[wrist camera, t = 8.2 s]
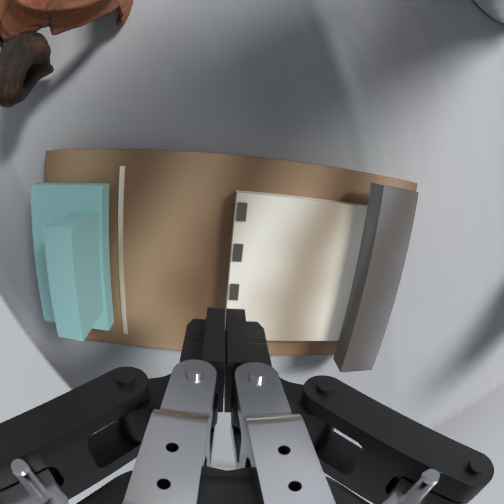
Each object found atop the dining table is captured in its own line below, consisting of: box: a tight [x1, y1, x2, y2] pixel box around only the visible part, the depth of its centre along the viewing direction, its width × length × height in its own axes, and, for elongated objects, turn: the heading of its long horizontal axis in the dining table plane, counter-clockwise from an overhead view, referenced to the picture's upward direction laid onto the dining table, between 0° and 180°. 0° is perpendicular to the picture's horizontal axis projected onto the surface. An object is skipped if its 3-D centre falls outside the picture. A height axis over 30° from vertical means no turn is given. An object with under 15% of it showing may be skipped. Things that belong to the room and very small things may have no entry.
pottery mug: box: [0, 0, 133, 107], centre depth 12 cm, size 12×10×8 cm
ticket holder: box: [45, 149, 418, 372], centre depth 18 cm, size 24×13×4 cm, turn 84°
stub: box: [31, 183, 114, 341], centre depth 15 cm, size 5×9×5 cm, turn 174°
